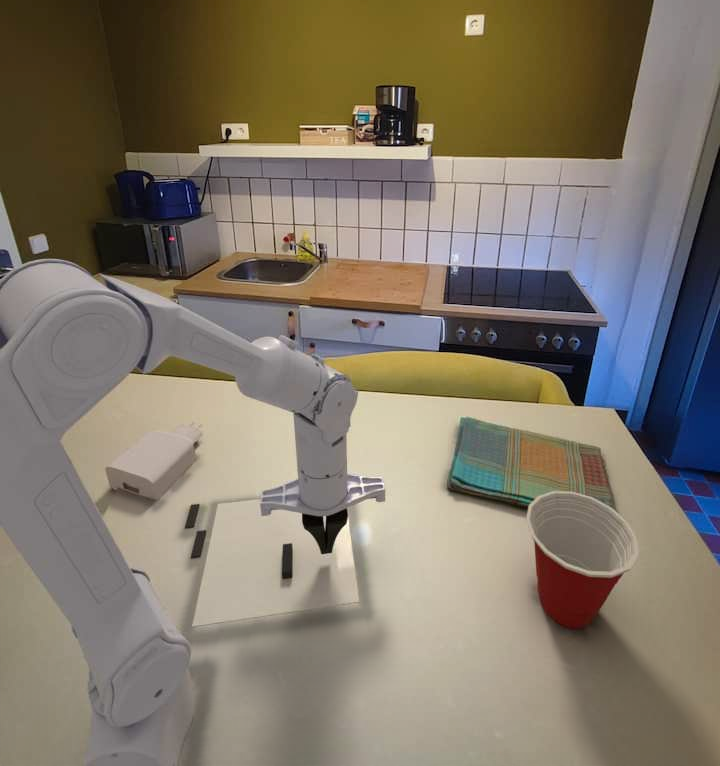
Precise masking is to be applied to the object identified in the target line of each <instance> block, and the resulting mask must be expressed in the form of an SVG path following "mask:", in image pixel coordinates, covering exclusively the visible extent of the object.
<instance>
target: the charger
mask: <svg viewBox="0 0 720 766" xmlns="http://www.w3.org/2000/svg"><path fill="white" fill-rule="evenodd" d="M194 424H195V422H194V421H191V422H190V423H189V424H188V425H185V424H181V425H176V427H174V428H173V429H172V430H171V431H166V430H163V429H155V430H150V431H148V432H147V433H146V434H145V435H144V436H142V437H141V438H140V439H138V440H137V441H136V442H135V443H134V444H133V445H131V446H130V447H129V448H128V449H126V450H125V451H124V452H122V454H120V455H119V456H118V457H117V458H116V459H114V460H113V461H112V462H111V463H109V464H108V465H107V466H106V467H105V468H104V470H105V473H106V478H107V481H108V484H109V487H110V488H111V489H113V490H114V491H117V490H118V489H121V490H124V491H126V492H130V493H133V494H136V495H139V496H142V497H145V498H148V499H151V500H155V501H158V500H159V499H160V498H161V497H162V496H163V495H164V494H165V492H166V491H167V490H169V489H170V487H171V486H172V485H174V483H176V481H177V480H178V479H179V478H180V477H182V475H183V474H184V473H185V472H186V471H187V470H189V468H190V467H191V466H192V465H194V463H195V462H196V461H197V456H196V450H195V443H196V442H197V441H198V440H200V439H201V437H202V436H203V433H202V432H201V431H200V430H199V429H200V428H201V427H202V426H203V424H202V423H199V424H197V426H196V427H193V425H194Z"/></svg>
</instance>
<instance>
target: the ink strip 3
mask: <svg viewBox="0 0 720 766" xmlns="http://www.w3.org/2000/svg"><path fill="white" fill-rule="evenodd" d="M292 569H293V548H292V543H289V544H283V552H282V579H289V578H292Z"/></svg>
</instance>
